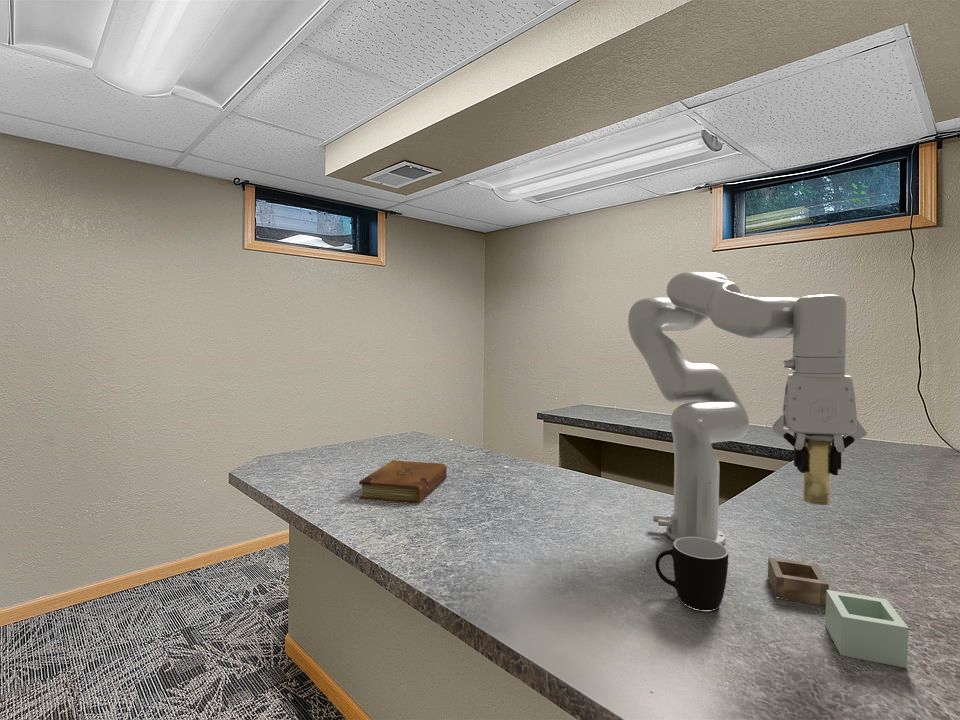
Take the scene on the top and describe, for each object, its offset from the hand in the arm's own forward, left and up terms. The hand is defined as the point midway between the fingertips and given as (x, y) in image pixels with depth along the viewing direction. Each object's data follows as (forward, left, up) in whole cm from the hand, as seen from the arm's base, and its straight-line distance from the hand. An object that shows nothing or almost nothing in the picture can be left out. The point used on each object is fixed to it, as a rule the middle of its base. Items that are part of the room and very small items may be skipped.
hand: (816, 471), depth 87 cm
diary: (-99, +31, -24) cm, 107 cm away
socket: (+4, -11, -24) cm, 27 cm away
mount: (-2, +4, -24) cm, 24 cm away
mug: (-20, -6, -24) cm, 32 cm away
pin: (0, 0, -5) cm, 5 cm away
